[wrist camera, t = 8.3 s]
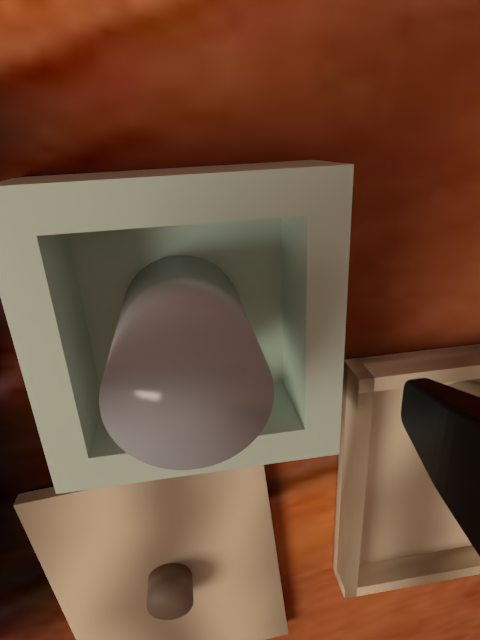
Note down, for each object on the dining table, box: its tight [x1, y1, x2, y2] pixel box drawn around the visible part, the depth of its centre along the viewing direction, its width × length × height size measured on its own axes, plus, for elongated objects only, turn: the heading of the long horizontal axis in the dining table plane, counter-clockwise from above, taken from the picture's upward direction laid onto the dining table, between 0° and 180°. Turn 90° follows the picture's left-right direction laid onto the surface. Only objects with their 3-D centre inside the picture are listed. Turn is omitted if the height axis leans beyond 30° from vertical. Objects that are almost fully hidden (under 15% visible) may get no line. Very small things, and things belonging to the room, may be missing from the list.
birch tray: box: [333, 344, 480, 599], centre depth 19 cm, size 10×12×2 cm
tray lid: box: [13, 465, 288, 640], centre depth 19 cm, size 10×12×2 cm
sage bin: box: [0, 160, 354, 494], centre depth 14 cm, size 9×9×4 cm
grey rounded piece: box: [99, 255, 274, 470], centre depth 12 cm, size 4×4×6 cm
